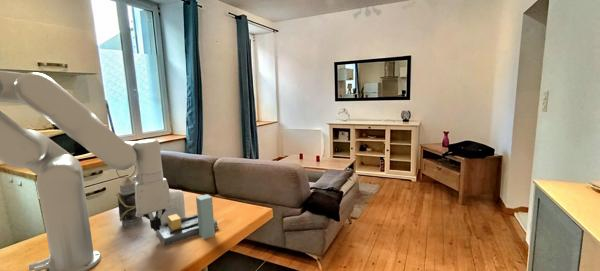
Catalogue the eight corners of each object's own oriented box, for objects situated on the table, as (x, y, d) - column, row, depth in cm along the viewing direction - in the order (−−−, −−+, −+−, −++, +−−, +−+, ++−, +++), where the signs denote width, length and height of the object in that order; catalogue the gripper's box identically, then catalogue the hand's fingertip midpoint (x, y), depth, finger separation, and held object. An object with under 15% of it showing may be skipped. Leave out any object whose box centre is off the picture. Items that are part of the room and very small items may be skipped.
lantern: (139, 216, 113) (132, 157, 110) (149, 221, 109) (142, 159, 105) (115, 225, 106) (107, 161, 102) (125, 230, 101) (117, 164, 98)
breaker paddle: (172, 230, 95) (171, 220, 94) (168, 225, 99) (167, 216, 98) (181, 227, 97) (180, 218, 96) (177, 222, 101) (176, 213, 100)
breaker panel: (165, 245, 90) (164, 237, 90) (156, 232, 99) (155, 224, 99) (217, 228, 102) (217, 220, 101) (205, 217, 111) (204, 210, 110)
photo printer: (184, 215, 113) (182, 186, 111) (186, 219, 109) (184, 189, 108) (156, 222, 107) (153, 192, 106) (157, 226, 104) (154, 195, 102)
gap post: (203, 239, 94) (200, 200, 92) (199, 235, 97) (196, 196, 95) (214, 235, 96) (212, 197, 94) (210, 231, 99) (207, 194, 97)
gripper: (125, 184, 83) (133, 241, 86) (177, 174, 93) (182, 225, 96) (122, 179, 89) (128, 232, 92) (171, 170, 99) (176, 218, 101)
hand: (156, 229), depth 94 cm, fingers closed
